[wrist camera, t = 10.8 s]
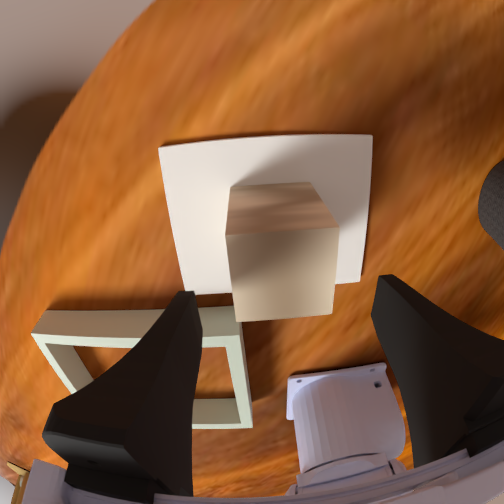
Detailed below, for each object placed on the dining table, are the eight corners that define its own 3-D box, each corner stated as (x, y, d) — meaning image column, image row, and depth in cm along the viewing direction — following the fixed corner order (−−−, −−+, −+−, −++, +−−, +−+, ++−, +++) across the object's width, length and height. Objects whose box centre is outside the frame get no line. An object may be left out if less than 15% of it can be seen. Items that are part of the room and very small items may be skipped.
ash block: (309, 181, 17) (339, 227, 12) (309, 250, 19) (331, 313, 14) (230, 186, 17) (225, 235, 12) (237, 256, 19) (236, 322, 14)
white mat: (370, 134, 16) (372, 135, 16) (357, 278, 21) (359, 281, 21) (159, 146, 16) (158, 148, 16) (187, 291, 21) (186, 295, 21)
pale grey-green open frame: (239, 305, 22) (239, 335, 19) (251, 402, 28) (252, 427, 26) (45, 310, 22) (30, 333, 19) (99, 398, 29) (92, 419, 26)
